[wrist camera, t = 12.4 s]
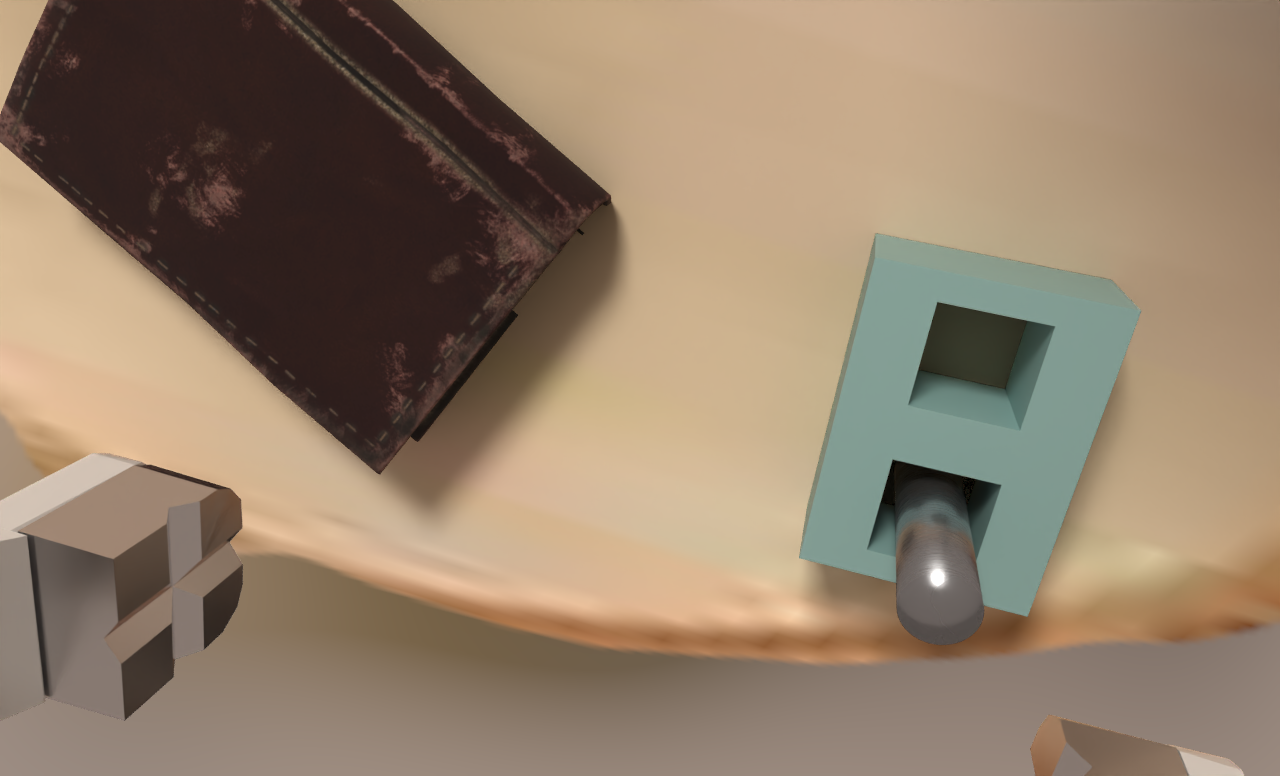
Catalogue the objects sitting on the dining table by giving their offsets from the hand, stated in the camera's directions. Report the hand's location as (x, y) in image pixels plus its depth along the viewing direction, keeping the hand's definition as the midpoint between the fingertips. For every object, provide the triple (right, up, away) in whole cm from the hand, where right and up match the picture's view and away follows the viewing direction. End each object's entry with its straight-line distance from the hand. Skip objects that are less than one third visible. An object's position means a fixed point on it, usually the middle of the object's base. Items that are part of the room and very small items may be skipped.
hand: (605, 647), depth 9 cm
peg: (+14, -1, +35) cm, 38 cm away
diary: (-16, +14, +38) cm, 43 cm away
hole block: (+14, +2, +34) cm, 37 cm away
